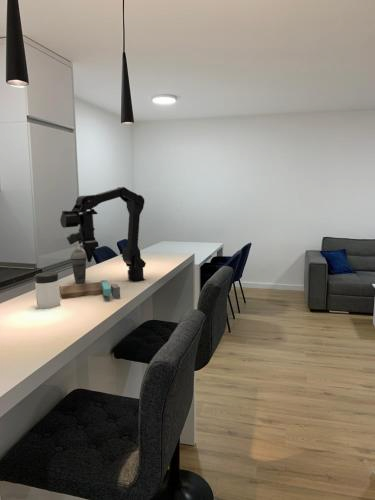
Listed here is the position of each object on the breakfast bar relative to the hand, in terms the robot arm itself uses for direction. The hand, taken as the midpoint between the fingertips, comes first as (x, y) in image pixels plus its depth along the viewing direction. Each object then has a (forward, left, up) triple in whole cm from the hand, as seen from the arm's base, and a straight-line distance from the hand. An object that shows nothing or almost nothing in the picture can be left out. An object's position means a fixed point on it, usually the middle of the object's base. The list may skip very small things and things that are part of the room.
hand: (89, 261), depth 172 cm
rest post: (-7, +18, -12) cm, 23 cm away
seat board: (+3, +4, -12) cm, 13 cm away
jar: (+18, +18, -12) cm, 28 cm away
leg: (-4, +15, -10) cm, 18 cm away
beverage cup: (+3, -15, -12) cm, 20 cm away
